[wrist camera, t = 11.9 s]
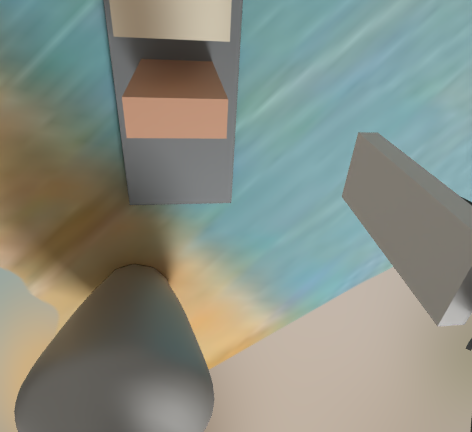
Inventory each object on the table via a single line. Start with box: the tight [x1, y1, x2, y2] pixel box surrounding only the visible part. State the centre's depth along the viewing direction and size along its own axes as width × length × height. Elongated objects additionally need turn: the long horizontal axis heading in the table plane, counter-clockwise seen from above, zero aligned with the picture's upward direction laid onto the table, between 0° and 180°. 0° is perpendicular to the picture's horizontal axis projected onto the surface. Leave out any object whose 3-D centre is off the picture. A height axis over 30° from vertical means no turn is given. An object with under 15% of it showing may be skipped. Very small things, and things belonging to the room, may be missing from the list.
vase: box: [14, 264, 214, 432], centre depth 27 cm, size 14×14×25 cm
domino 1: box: [109, 0, 232, 42], centre depth 19 cm, size 5×2×10 cm, turn 86°
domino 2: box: [122, 59, 228, 139], centre depth 21 cm, size 5×2×10 cm, turn 86°
